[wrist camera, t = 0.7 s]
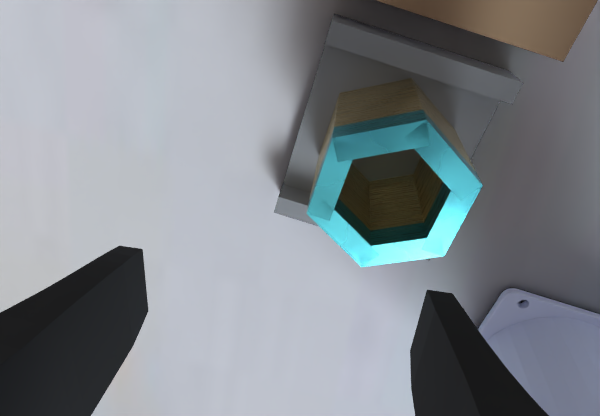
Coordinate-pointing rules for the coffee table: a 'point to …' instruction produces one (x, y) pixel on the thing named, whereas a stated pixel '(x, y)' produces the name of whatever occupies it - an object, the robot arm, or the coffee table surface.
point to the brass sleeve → (392, 191)
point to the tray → (379, 70)
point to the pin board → (511, 20)
